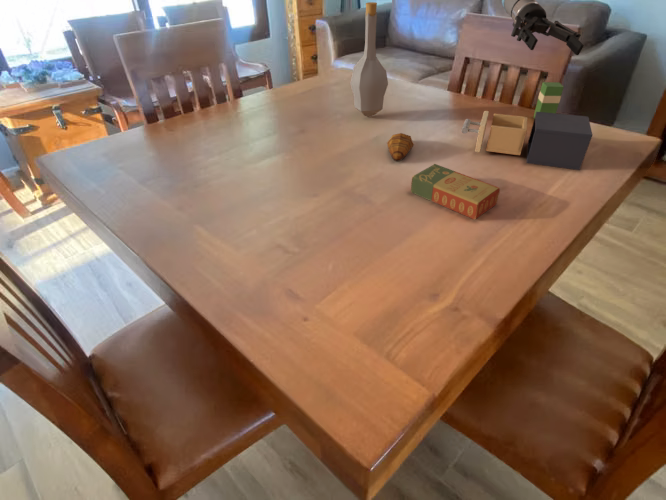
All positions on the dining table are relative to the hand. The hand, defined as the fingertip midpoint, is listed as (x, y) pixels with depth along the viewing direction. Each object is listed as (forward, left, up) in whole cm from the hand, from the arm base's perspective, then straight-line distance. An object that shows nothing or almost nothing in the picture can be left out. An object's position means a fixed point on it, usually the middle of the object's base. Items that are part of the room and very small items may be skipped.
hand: (557, 47), depth 116 cm
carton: (+17, +58, -19) cm, 63 cm away
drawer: (+12, +30, -17) cm, 36 cm away
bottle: (+48, +18, -19) cm, 54 cm away
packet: (-1, +5, -18) cm, 19 cm away
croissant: (+33, +39, -19) cm, 54 cm away
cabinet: (-3, +30, -18) cm, 35 cm away
